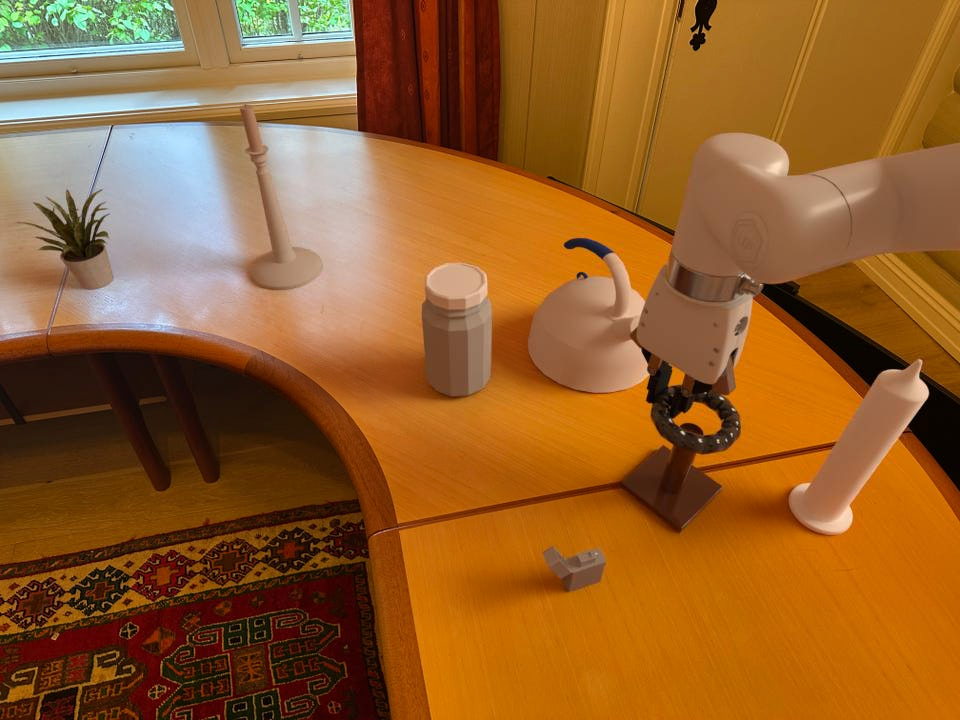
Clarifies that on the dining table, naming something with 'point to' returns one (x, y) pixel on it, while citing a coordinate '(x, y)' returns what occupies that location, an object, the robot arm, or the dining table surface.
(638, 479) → the square plate with peg
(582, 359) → the kettle
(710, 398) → the studded rubber donut
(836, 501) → the candle
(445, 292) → the jar
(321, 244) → the dining table surface
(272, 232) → the candlestick
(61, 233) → the house plant
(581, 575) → the lighter
